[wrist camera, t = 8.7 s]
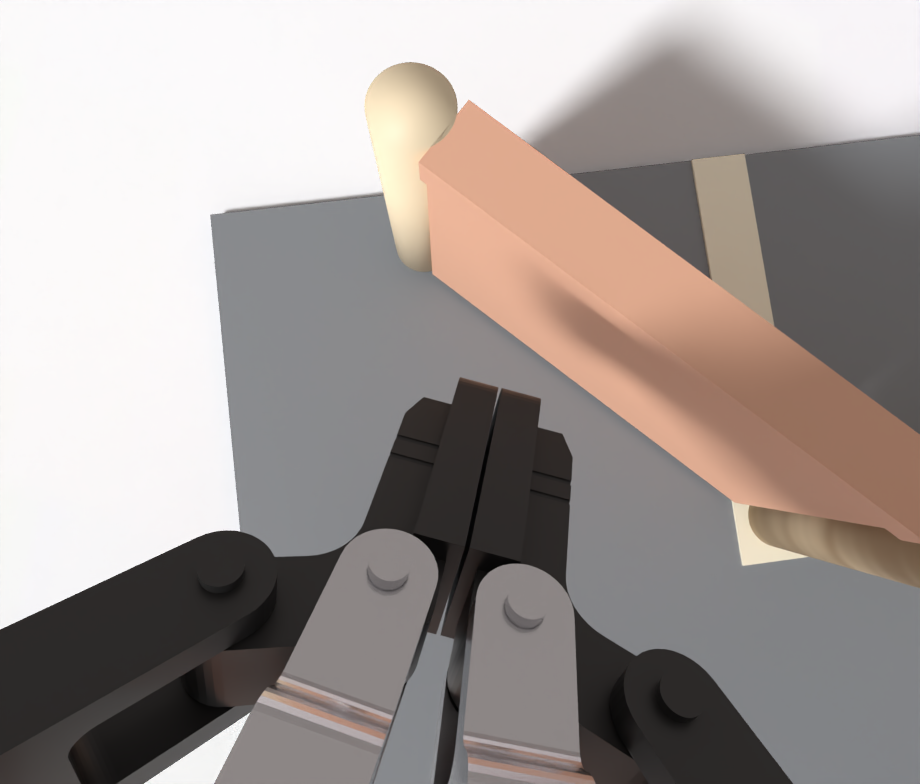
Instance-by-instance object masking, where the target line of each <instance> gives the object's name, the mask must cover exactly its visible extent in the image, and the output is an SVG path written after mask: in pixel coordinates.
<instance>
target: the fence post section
mask: <svg viewBox="0 0 920 784" xmlns="http://www.w3.org/2000/svg"><path fill="white" fill-rule="evenodd" d="M748 519H749V524H750V527H751V529H752V531H753V532H754V534H755V535H756V536H757V537H758V538H759V539H760V540H761V541H762V542H764V543H765V544H767V545H770V546H773V547H776V548H780V549H783V550H787V551H790V552H794V553H797V554H801V555H804V556H808V557H811V558H815V559H818V560H822V561H826V562H829V563H833V564H836V565H840V566H843V567H847V568H850V569H854V570H857V571H861V572H864V573H868V574H871V575H875V576H878V577H882V578H885V579H889V580H892V581H896V582H899V583H903V584H906V585H910V586H913V587H917V588H920V544H918V543H913V542H908V541H902V540H900V539H898V538H897V537H896V536H894V535H893V534H892V533H890V532H889V531H888V530H886V529H885V528H880V527H874V526H868V525H862V524H857V523H851V522H845V521H839V520H833V519H827V518H821V517H816V516H810V515H804V514H798V513H792V512H786V511H780V510H775V509H769V508H763V507H757V506H751V505H749V510H748Z"/></svg>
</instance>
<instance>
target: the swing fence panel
mask: <svg viewBox="0 0 920 784" xmlns="http://www.w3.org/2000/svg"><path fill="white" fill-rule="evenodd" d="M365 115H366V120H367V124H368V128H369V133H370V137H371V141H372V146H373V150H374V154H375V159H376V163H377V167H378V172H379V176H380V180H381V185H382V189H383V193H384V198H385V202H386V206H387V211H388V215H389V219H390V224H391V228H392V232H393V237H394V241H395V245H396V249H397V253H398V256H399V258H400V259H401V261H402V262H403V263H404V264H405V265H406V266H407V267H409V268H410V269H412V270H415V271H419V272H429V271H432V274H433V275H434V276H436V277H437V278H438V279H440V280H441V281H442V282H444V283H445V284H446V285H448V286H449V287H450V288H452V289H453V290H454V291H455V292H457V293H458V294H459V295H461V296H462V297H463V298H465V299H466V300H467V301H469V302H470V303H471V304H473V305H474V306H475V307H477V308H478V309H479V310H481V311H482V312H483V313H485V314H486V315H487V316H489V317H490V318H491V319H492V320H494V321H495V322H496V323H498V324H499V325H500V326H502V327H503V328H504V329H506V330H507V331H508V332H510V333H511V334H512V335H514V336H515V337H516V338H518V339H519V340H520V341H522V342H523V343H524V344H526V345H527V346H528V347H529V348H531V349H532V350H533V351H535V352H536V353H537V354H539V355H540V356H541V357H543V358H544V359H545V360H547V361H548V362H549V363H551V364H552V365H553V366H555V367H556V368H557V369H559V370H560V371H561V372H563V373H564V374H565V375H566V376H568V377H569V378H570V379H572V380H573V381H574V382H576V383H577V384H578V385H580V386H581V387H582V388H584V389H585V390H586V391H588V392H589V393H590V394H592V395H593V396H594V397H596V398H597V399H598V400H600V401H601V402H602V403H604V404H605V405H606V406H607V407H609V408H610V409H611V410H613V411H614V412H615V413H617V414H618V415H619V416H621V417H622V418H623V419H625V420H626V421H627V422H629V423H630V424H631V425H633V426H634V427H635V428H637V429H638V430H639V431H641V432H642V433H643V434H644V435H646V436H647V437H648V438H650V439H651V440H652V441H654V442H655V443H656V444H658V445H659V446H660V447H662V448H663V449H664V450H666V451H667V452H668V453H670V454H671V455H672V456H674V457H675V458H676V459H678V460H679V461H680V462H681V463H683V464H684V465H685V466H687V467H688V468H689V469H691V470H692V471H693V472H695V473H696V474H697V475H699V476H700V477H701V478H703V479H704V480H705V481H707V482H708V483H709V484H711V485H712V486H713V487H715V488H716V489H717V490H718V491H720V492H721V493H722V494H724V495H725V496H726V497H728V498H729V499H730V500H732V501H733V502H734V503H740V504H745V505H751V506H757V507H763V508H769V509H775V510H780V511H786V512H792V513H798V514H804V515H810V516H816V517H821V518H827V519H833V520H839V521H845V522H851V523H857V524H862V525H868V526H874V527H880V528H885V529H886V530H888V531H889V532H890V533H892V534H893V535H894V536H896V537H897V538H898V539H900V540H902V541H908V542H913V543H918V544H920V434H918V433H917V432H916V431H914V430H913V429H912V428H910V427H909V426H908V425H906V424H905V423H904V422H902V421H901V420H900V419H898V418H897V417H896V416H894V415H893V414H891V413H890V412H889V411H887V410H886V409H885V408H883V407H882V406H881V405H879V404H878V403H877V402H875V401H874V400H873V399H871V398H870V397H869V396H867V395H866V394H865V393H863V392H862V391H860V390H859V389H858V388H856V387H855V386H854V385H852V384H851V383H850V382H848V381H847V380H846V379H844V378H843V377H842V376H840V375H839V374H838V373H836V372H835V371H834V370H832V369H831V368H830V367H828V366H827V365H825V364H824V363H823V362H821V361H820V360H819V359H817V358H816V357H815V356H813V355H812V354H811V353H809V352H808V351H807V350H805V349H804V348H803V347H801V346H800V345H799V344H797V343H796V342H794V341H793V340H792V339H790V338H789V337H788V336H786V335H785V334H784V333H782V332H781V331H780V330H778V329H777V328H776V327H774V326H773V325H772V324H770V323H769V322H768V321H766V320H765V319H763V318H762V317H761V316H759V315H758V314H757V313H755V312H754V311H753V310H751V309H750V308H749V307H747V306H746V305H745V304H743V303H742V302H741V301H739V300H738V299H737V298H735V297H734V296H732V295H731V294H730V293H728V292H727V291H726V290H724V289H723V288H722V287H720V286H719V285H718V284H716V283H715V282H714V281H712V280H711V279H710V278H708V277H707V276H706V275H704V274H703V273H702V272H700V271H699V270H697V269H696V268H695V267H693V266H692V265H691V264H689V263H688V262H687V261H685V260H684V259H683V258H681V257H680V256H679V255H677V254H676V253H675V252H673V251H672V250H671V249H669V248H668V247H666V246H665V245H664V244H662V243H661V242H660V241H658V240H657V239H656V238H654V237H653V236H652V235H650V234H649V233H648V232H646V231H645V230H644V229H642V228H641V227H640V226H638V225H637V224H635V223H634V222H633V221H631V220H630V219H629V218H627V217H626V216H625V215H623V214H622V213H621V212H619V211H618V210H617V209H615V208H614V207H613V206H611V205H610V204H609V203H607V202H606V201H605V200H603V199H602V198H600V197H599V196H598V195H596V194H595V193H594V192H592V191H591V190H590V189H588V188H587V187H586V186H584V185H583V184H582V183H580V182H579V181H578V180H576V179H575V178H574V177H572V176H571V175H569V174H568V173H567V172H565V171H564V170H563V169H561V168H560V167H559V166H557V165H556V164H555V163H553V162H552V161H551V160H549V159H548V158H547V157H545V156H544V155H543V154H541V153H540V152H538V151H537V150H536V149H534V148H533V147H532V146H530V145H529V144H528V143H526V142H525V141H524V140H522V139H521V138H520V137H518V136H517V135H516V134H514V133H513V132H512V131H510V130H509V129H508V128H506V127H505V126H503V125H502V124H501V123H499V122H498V121H497V120H495V119H494V118H493V117H491V116H490V115H489V114H487V113H486V112H485V111H483V110H482V109H481V108H479V107H478V106H477V105H475V104H474V103H472V102H471V101H470V100H468V101H467V103H466V104H465V105H464V106H463V108H462V109H461V110H460V111H459V113H458V114H457V98H456V94H455V92H454V89H453V87H452V85H451V84H450V82H449V81H448V80H447V78H446V77H445V76H444V75H443V74H441V73H440V72H439V71H437V70H436V69H434V68H432V67H430V66H428V65H425V64H421V63H413V62H409V63H401V64H397V65H394V66H391V67H389V68H387V69H386V70H384V71H383V72H381V73H380V74H379V75H378V76H377V77H376V78H375V79H374V80H373V82H372V83H371V85H370V87H369V88H368V91H367V94H366V98H365Z"/></svg>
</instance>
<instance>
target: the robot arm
mask: <svg viewBox="0 0 920 784" xmlns="http://www.w3.org/2000/svg"><path fill="white" fill-rule="evenodd" d="M497 393H498V387H496V386H492V385H488V384H484V383H481V382H477V381H473V380H469V379H466V378H462V377H460V378H459V381H458V384H457V388H456V391H455V394H454V398H453V401H452V404H449V403H445V402H441V401H437V400H434V399H430V398H426V397H423V398H422V399H421V400H420V401H418V402H417V403H416V404H415V405H414V406H412V407H411V408H410V409H409V410H408V411H407V412H405V415H404V417H403V420H402V423H401V425H400V428H399V431H398V433H397V437H396V439H395V441H394V444H393V447H392V449H391V452H390V456H389V457H388V460H387V463H386V465H385V468H384V471H383V473H382V476H381V479H380V481H379V484H378V486H377V489H376V492H375V494H374V497H373V500H372V502H371V505H370V508H369V510H368V513H367V516H366V518H365V521H364V523H363V525H362V527H361V529H360V530H359V532H358V533H357V534H356V535H355V536H354V537H353V538H352V539H351V540H350V541H349V542H348V543H346V544H345V545H343V546H341V547H340V548H338V549H336V550H333V551H330V552H328V553H324V554H319V555H311V556H286V557H274V555H273V553H272V551H271V550H270V548H269V547H268V546H267V545H266V544H265V543H264V542H262V541H261V540H260V539H258V538H256V537H254V536H253V535H250V534H247V533H244V532H239V531H217V532H212V533H208V534H205V535H202V536H200V537H197V538H195V539H193V540H191V541H189V542H187V543H184V544H182V545H180V546H178V547H176V548H174V549H172V550H169V551H167V552H165V553H163V554H161V555H159V556H157V557H154V558H152V559H150V560H148V561H146V562H144V563H142V564H140V565H137V566H135V567H133V568H131V569H129V570H127V571H125V572H122V573H120V574H118V575H116V576H114V577H112V578H110V579H108V580H105V581H103V582H101V583H99V584H97V585H95V586H93V587H90V588H88V589H86V590H84V591H82V592H80V593H78V594H75V595H73V596H71V597H69V598H67V599H65V600H63V601H61V602H58V603H56V604H54V605H52V606H50V607H48V608H46V609H43V610H41V611H39V612H37V613H35V614H33V615H31V616H29V617H26V618H24V619H22V620H20V621H18V622H16V623H14V624H11V625H9V626H7V627H5V628H3V629H1V630H0V784H144V783H145V782H147V781H148V780H150V779H151V778H153V777H154V776H156V775H157V774H159V773H160V772H162V771H163V770H165V769H166V768H168V767H169V766H171V765H172V764H174V763H175V762H177V761H178V760H180V759H181V758H183V757H184V756H186V755H187V754H189V753H190V752H192V751H193V750H195V749H196V748H198V747H199V746H201V745H202V744H204V743H205V742H207V741H208V740H210V739H211V738H213V737H214V736H216V735H217V734H219V733H220V732H222V731H223V730H225V729H226V728H228V727H229V726H230V725H232V724H233V723H235V722H236V721H238V720H239V719H241V718H242V717H244V716H245V715H247V714H248V713H250V712H251V713H250V715H249V717H248V718H247V720H246V722H245V724H244V726H243V728H242V730H241V732H240V734H239V736H238V738H237V740H236V742H235V744H234V746H233V748H232V750H231V752H230V754H229V756H228V758H227V760H226V762H225V764H224V766H223V768H222V770H221V771H220V773H219V775H218V777H217V779H216V781H215V783H214V784H374V782H375V779H376V776H377V773H378V770H379V767H380V764H381V761H382V758H383V755H384V752H385V749H386V746H387V743H388V740H389V737H390V734H391V731H392V728H393V725H394V722H395V719H396V716H397V713H398V710H399V706H400V703H401V700H402V697H403V694H404V691H405V688H406V685H407V682H408V680H409V679H410V677H411V676H412V675H413V673H414V671H415V669H416V667H417V664H418V661H419V658H420V654H421V651H422V648H423V645H424V641H425V638H426V635H427V632H429V633H433V634H437V631H438V628H439V624H440V621H441V618H442V615H443V612H444V609H445V606H446V603H447V600H448V603H447V607H446V612H445V617H444V621H443V626H442V630H441V636H445V637H449V638H452V639H454V642H453V647H452V652H451V657H450V662H449V667H448V670H447V672H446V675H445V678H444V680H443V684H442V688H441V695H440V703H439V711H438V719H437V727H436V735H435V743H434V751H433V759H432V767H431V775H430V783H429V784H793V783H792V781H791V780H790V779H789V777H788V776H787V775H786V774H785V772H784V771H783V770H782V768H781V767H780V766H779V764H778V763H777V762H776V761H775V759H774V758H773V757H772V755H771V754H770V753H769V751H768V750H767V749H766V747H765V746H764V745H763V744H762V742H761V741H760V740H759V738H758V737H757V736H756V734H755V733H754V732H753V730H752V729H751V728H750V727H749V725H748V724H747V723H746V721H745V720H744V719H743V717H742V716H741V715H740V713H739V712H738V711H737V710H736V708H735V707H734V706H733V704H732V703H731V702H730V700H729V699H728V698H727V697H726V695H725V694H724V693H723V691H722V690H721V689H720V687H719V686H718V685H717V683H716V682H715V681H714V680H713V678H712V677H711V676H710V675H709V674H708V673H707V672H706V671H705V670H704V669H703V668H702V667H701V666H700V665H699V664H697V663H696V662H695V661H693V660H692V659H690V658H688V657H686V656H685V655H683V654H680V653H678V652H675V651H671V650H667V649H651V650H647V651H644V652H642V653H640V654H639V655H637V656H636V655H634V654H632V653H631V652H629V651H627V650H626V649H624V648H623V647H621V646H619V645H618V644H616V643H614V642H613V641H611V640H609V639H608V638H606V637H605V636H603V635H602V634H600V633H599V632H597V631H596V630H594V629H593V628H592V627H591V626H590V625H589V624H588V623H587V622H586V621H585V620H584V619H583V618H582V617H581V616H580V614H579V613H578V611H577V610H576V608H575V607H574V605H573V603H572V601H571V599H570V596H569V593H568V590H567V585H566V566H567V549H568V532H569V514H570V505H569V502H570V497H571V485H570V484H571V480H572V462H573V457H572V454H571V452H570V450H569V447H568V445H567V443H566V441H565V438H564V436H563V434H562V433H558V432H554V431H550V430H547V429H543V428H539V427H538V422H539V414H540V406H541V398H538V397H534V396H530V395H526V394H523V393H519V392H515V391H511V390H508V389H504V388H501V391H500V394H499V397H498V400H497V403H496V407H495V402H496V398H497ZM494 407H495V410H494ZM493 412H494V413H493ZM448 597H449V598H448Z"/></svg>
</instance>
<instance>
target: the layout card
mask: <svg viewBox="0 0 920 784" xmlns="http://www.w3.org/2000/svg"><path fill="white" fill-rule="evenodd" d="M569 175H571V176H572V177H574V178H575V179H576V180H578V181H579V182H580V183H582V184H583V185H584V186H586V187H587V188H588V189H590V190H591V191H592V192H594V193H595V194H596V195H598V196H599V197H600V198H602V199H603V200H605V201H606V202H607V203H609V204H610V205H611V206H613V207H614V208H615V209H617V210H618V211H619V212H621V213H622V214H623V215H625V216H626V217H627V218H629V219H630V220H631V221H633V222H634V223H635V224H637V225H638V226H640V227H641V228H642V229H644V230H645V231H646V232H648V233H649V234H650V235H652V236H653V237H654V238H656V239H657V240H658V241H660V242H661V243H662V244H664V245H665V246H666V247H668V248H669V249H671V250H672V251H673V252H675V253H676V254H677V255H679V256H680V257H681V258H683V259H684V260H685V261H687V262H688V263H689V264H691V265H692V266H693V267H695V268H696V269H697V270H699V271H700V272H702V273H703V274H704V275H706V276H707V277H708V278H710V279H711V280H712V281H714V282H715V283H716V284H718V285H719V286H720V287H722V288H723V289H724V290H726V291H727V292H728V293H730V294H731V295H732V296H734V297H735V298H737V299H738V300H739V301H741V302H742V303H743V304H745V305H746V306H747V307H749V308H750V309H751V310H753V311H754V312H755V313H757V314H758V315H759V316H761V317H762V318H763V319H765V320H766V321H768V322H769V323H770V324H772V325H773V326H774V327H776V328H777V329H778V330H780V331H781V332H782V333H784V334H785V335H786V336H788V337H789V338H790V339H792V340H793V341H794V342H796V343H797V344H799V345H800V346H801V347H803V348H804V349H805V350H807V351H808V352H809V353H811V354H812V355H813V356H815V357H816V358H817V359H819V360H820V361H821V362H823V363H824V364H825V365H827V366H828V367H830V368H831V369H832V370H834V371H835V372H836V373H838V374H839V375H840V376H842V377H843V378H844V379H846V380H847V381H848V382H850V383H851V384H852V385H854V386H855V387H856V388H858V389H859V390H860V391H862V392H863V393H865V394H866V395H867V396H869V397H870V398H871V399H873V400H874V401H875V402H877V403H878V404H879V405H881V406H882V407H883V408H885V409H886V410H887V411H889V412H890V413H891V414H893V415H894V416H896V417H897V418H898V419H900V420H901V421H902V422H904V423H905V424H906V425H908V426H909V427H910V428H912V429H913V430H914V431H916V432H917V433H918V434H920V135H917V136H908V137H899V138H890V139H881V140H872V141H863V142H854V143H845V144H836V145H827V146H819V147H810V148H801V149H792V150H783V151H774V152H765V153H756V154H747V155H745V154H737V155H728V156H719V157H710V158H701V159H692V160H691V161H685V162H676V163H667V164H658V165H649V166H640V167H631V168H623V169H614V170H605V171H596V172H587V173H578V174H569ZM210 216H211V227H212V237H213V248H214V258H215V269H216V279H217V290H218V300H219V311H220V322H221V332H222V343H223V353H224V364H225V374H226V385H227V395H228V406H229V416H230V427H231V438H232V448H233V459H234V469H235V480H236V490H237V501H238V511H239V522H240V532H244V533H247V534H250V535H253V536H254V537H256V538H258V539H260V540H261V541H262V542H264V543H265V544H266V545H267V546H268V547H269V548H270V550H271V551H272V553H273V555H274V557H286V556H311V555H319V554H324V553H328V552H330V551H333V550H336V549H338V548H340V547H341V546H343V545H345V544H346V543H348V542H349V541H350V540H351V539H352V538H353V537H354V536H355V535H356V534H357V533H358V532H359V530H360V529H361V527H362V525H363V523H364V521H365V518H366V516H367V513H368V510H369V508H370V505H371V502H372V500H373V497H374V494H375V492H376V489H377V486H378V484H379V481H380V479H381V476H382V473H383V471H384V468H385V465H386V463H387V460H388V457H389V456H390V452H391V449H392V447H393V444H394V441H395V439H396V437H397V433H398V431H399V428H400V425H401V423H402V420H403V417H404V415H405V412H407V411H408V410H409V409H410V408H411V407H412V406H414V405H415V404H416V403H417V402H418V401H420V400H421V399H422V398H423V397H426V398H430V399H434V400H437V401H441V402H445V403H449V404H452V401H453V398H454V394H455V391H456V388H457V384H458V381H459V378H460V377H462V378H466V379H469V380H473V381H477V382H481V383H484V384H488V385H492V386H496V387H498V393H497V398H496V402H495V407H496V403H497V400H498V397H499V394H500V391H501V388H504V389H508V390H511V391H515V392H519V393H523V394H526V395H530V396H534V397H538V398H541V406H540V414H539V422H538V427H539V428H543V429H547V430H550V431H554V432H558V433H562V434H563V436H564V438H565V441H566V443H567V445H568V447H569V450H570V452H571V454H572V457H573V462H572V480H571V484H570V485H571V497H570V502H569V505H570V514H569V532H568V549H567V566H566V585H567V590H568V593H569V596H570V599H571V601H572V603H573V605H574V607H575V608H576V610H577V611H578V613H579V614H580V616H581V617H582V618H583V619H584V620H585V621H586V622H587V623H588V624H589V625H590V626H591V627H592V628H593V629H594V630H596V631H597V632H599V633H600V634H602V635H603V636H605V637H606V638H608V639H609V640H611V641H613V642H614V643H616V644H618V645H619V646H621V647H623V648H624V649H626V650H627V651H629V652H631V653H632V654H634V655H636V656H637V655H639V654H640V653H642V652H644V651H647V650H651V649H667V650H671V651H675V652H678V653H680V654H683V655H685V656H686V657H688V658H690V659H692V660H693V661H695V662H696V663H697V664H699V665H700V666H701V667H702V668H703V669H704V670H705V671H706V672H707V673H708V674H709V675H710V676H711V677H712V678H713V680H714V681H715V682H716V683H717V685H718V686H719V687H720V689H721V690H722V691H723V693H724V694H725V695H726V697H727V698H728V699H729V700H730V702H731V703H732V704H733V706H734V707H735V708H736V710H737V711H738V712H739V713H740V715H741V716H742V717H743V719H744V720H745V721H746V723H747V724H748V725H749V727H750V728H751V729H752V730H753V732H754V733H755V734H756V736H757V737H758V738H759V740H760V741H761V742H762V744H763V745H764V746H765V747H766V749H767V750H768V751H769V753H770V754H771V755H772V757H773V758H774V759H775V761H776V762H777V763H778V764H779V766H780V767H781V768H782V770H783V771H784V772H785V774H786V775H787V776H788V777H789V779H790V780H791V781H792V783H793V784H920V588H917V587H913V586H910V585H906V584H903V583H899V582H896V581H892V580H889V579H885V578H882V577H878V576H875V575H871V574H868V573H864V572H861V571H857V570H854V569H850V568H847V567H843V566H840V565H836V564H833V563H829V562H826V561H822V560H818V559H815V558H811V557H808V556H804V555H801V554H797V553H794V552H790V551H787V550H783V549H780V548H776V547H773V546H770V545H767V544H765V543H764V542H762V541H761V540H760V539H759V538H758V537H757V536H756V535H755V534H754V532H753V531H752V529H751V527H750V524H749V519H748V510H749V505H745V504H740V503H734V502H733V501H732V500H730V499H729V498H728V497H726V496H725V495H724V494H722V493H721V492H720V491H718V490H717V489H716V488H715V487H713V486H712V485H711V484H709V483H708V482H707V481H705V480H704V479H703V478H701V477H700V476H699V475H697V474H696V473H695V472H693V471H692V470H691V469H689V468H688V467H687V466H685V465H684V464H683V463H681V462H680V461H679V460H678V459H676V458H675V457H674V456H672V455H671V454H670V453H668V452H667V451H666V450H664V449H663V448H662V447H660V446H659V445H658V444H656V443H655V442H654V441H652V440H651V439H650V438H648V437H647V436H646V435H644V434H643V433H642V432H641V431H639V430H638V429H637V428H635V427H634V426H633V425H631V424H630V423H629V422H627V421H626V420H625V419H623V418H622V417H621V416H619V415H618V414H617V413H615V412H614V411H613V410H611V409H610V408H609V407H607V406H606V405H605V404H604V403H602V402H601V401H600V400H598V399H597V398H596V397H594V396H593V395H592V394H590V393H589V392H588V391H586V390H585V389H584V388H582V387H581V386H580V385H578V384H577V383H576V382H574V381H573V380H572V379H570V378H569V377H568V376H566V375H565V374H564V373H563V372H561V371H560V370H559V369H557V368H556V367H555V366H553V365H552V364H551V363H549V362H548V361H547V360H545V359H544V358H543V357H541V356H540V355H539V354H537V353H536V352H535V351H533V350H532V349H531V348H529V347H528V346H527V345H526V344H524V343H523V342H522V341H520V340H519V339H518V338H516V337H515V336H514V335H512V334H511V333H510V332H508V331H507V330H506V329H504V328H503V327H502V326H500V325H499V324H498V323H496V322H495V321H494V320H492V319H491V318H490V317H489V316H487V315H486V314H485V313H483V312H482V311H481V310H479V309H478V308H477V307H475V306H474V305H473V304H471V303H470V302H469V301H467V300H466V299H465V298H463V297H462V296H461V295H459V294H458V293H457V292H455V291H454V290H453V289H452V288H450V287H449V286H448V285H446V284H445V283H444V282H442V281H441V280H440V279H438V278H437V277H436V276H434V275H433V274H432V271H429V272H419V271H415V270H412V269H410V268H409V267H407V266H406V265H405V264H404V263H403V262H402V261H401V259H400V258H399V256H398V253H397V249H396V245H395V241H394V237H393V232H392V228H391V224H390V219H389V215H388V211H387V206H386V202H385V198H384V195H382V196H373V197H364V198H355V199H346V200H338V201H329V202H320V203H311V204H302V205H293V206H284V207H275V208H266V209H257V210H248V211H240V212H231V213H222V214H213V215H210ZM495 407H494V410H495ZM493 413H494V412H493ZM448 598H449V597H448ZM447 603H448V600H447ZM447 603H446V606H445V609H444V612H443V615H442V618H441V621H440V624H439V628H438V631H437V634H433V633H429V632H427V635H426V638H425V641H424V645H423V648H422V651H421V654H420V658H419V661H418V664H417V667H416V669H415V671H414V673H413V675H412V676H411V677H410V679H409V680H408V682H407V685H406V688H405V691H404V694H403V697H402V700H401V703H400V706H399V710H398V713H397V716H396V719H395V722H394V725H393V728H392V731H391V734H390V737H389V740H388V743H387V746H386V749H385V752H384V755H383V758H382V761H381V764H380V767H379V770H378V773H377V776H376V779H375V782H374V784H429V783H430V775H431V767H432V759H433V751H434V743H435V735H436V727H437V719H438V711H439V703H440V695H441V688H442V684H443V680H444V678H445V675H446V672H447V670H448V667H449V662H450V657H451V652H452V647H453V642H454V639H452V638H449V637H445V636H441V630H442V626H443V621H444V617H445V612H446V607H447Z"/></svg>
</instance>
